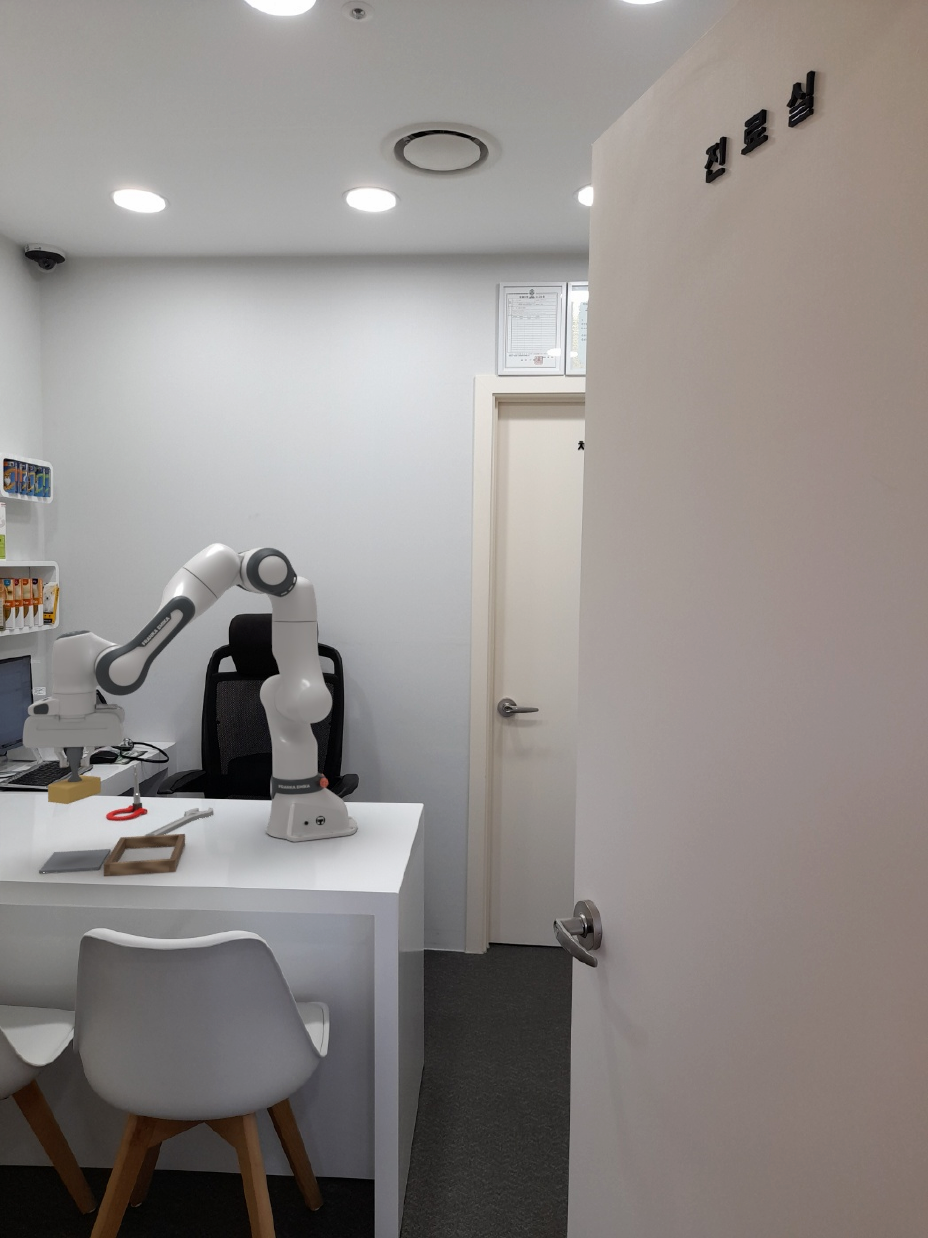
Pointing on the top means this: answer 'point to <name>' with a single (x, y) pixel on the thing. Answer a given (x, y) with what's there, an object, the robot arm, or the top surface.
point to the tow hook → (135, 808)
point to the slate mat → (75, 861)
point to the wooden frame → (144, 866)
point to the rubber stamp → (74, 782)
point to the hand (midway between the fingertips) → (74, 766)
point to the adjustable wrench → (182, 821)
